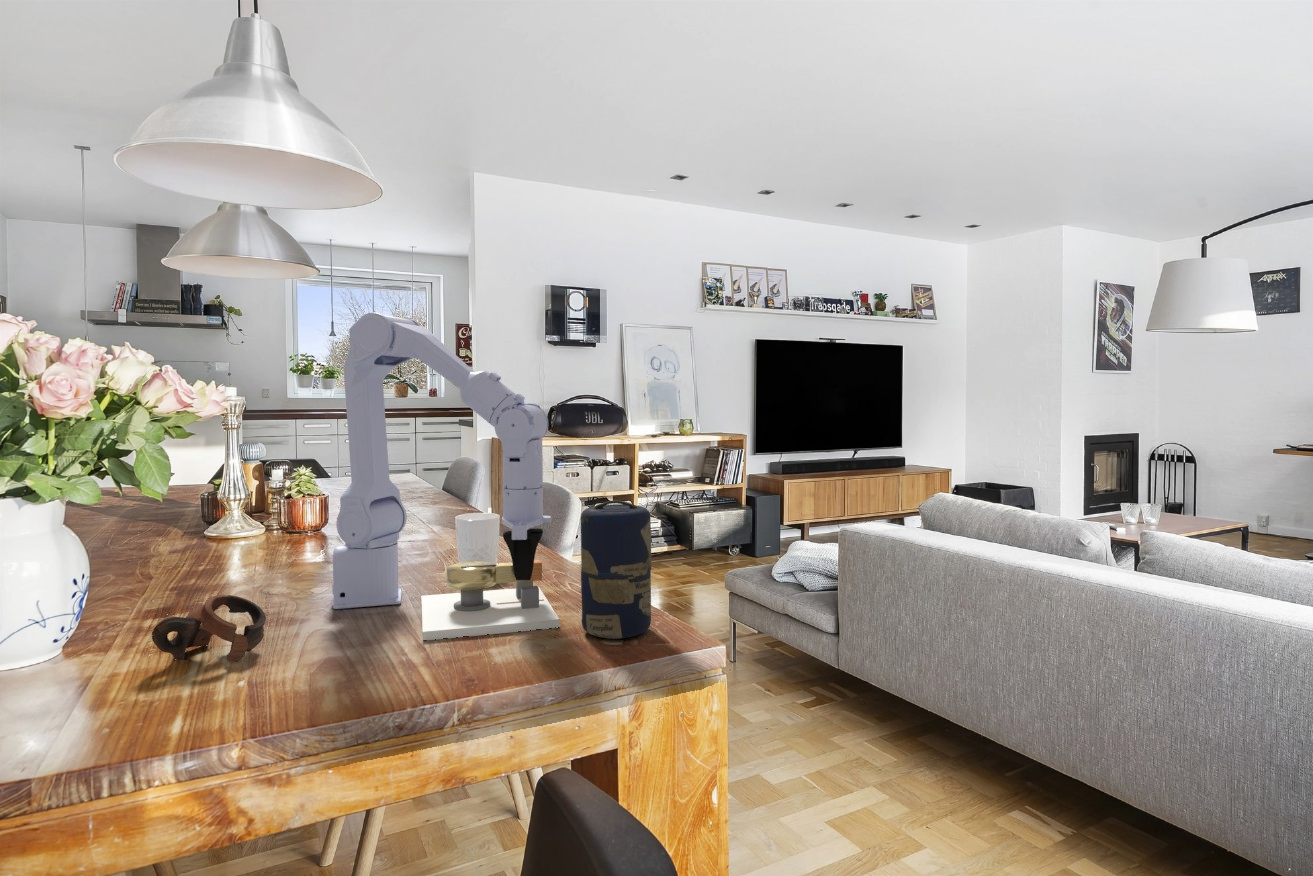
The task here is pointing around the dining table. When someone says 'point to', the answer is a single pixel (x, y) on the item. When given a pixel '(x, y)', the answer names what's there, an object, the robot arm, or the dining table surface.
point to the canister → (616, 570)
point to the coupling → (485, 574)
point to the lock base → (486, 612)
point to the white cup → (477, 537)
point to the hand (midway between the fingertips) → (523, 579)
